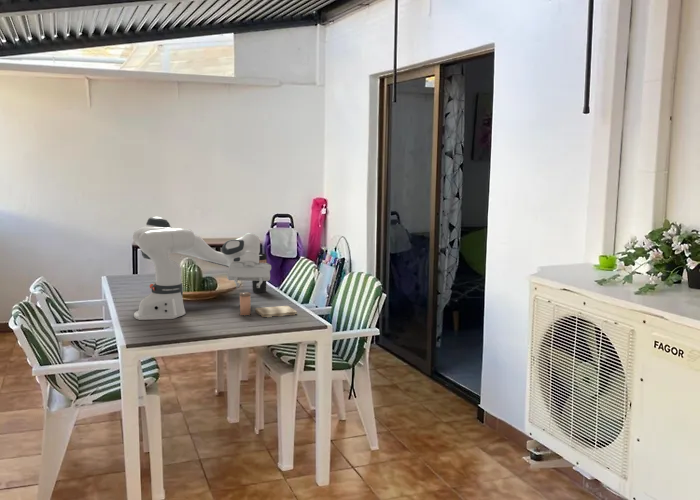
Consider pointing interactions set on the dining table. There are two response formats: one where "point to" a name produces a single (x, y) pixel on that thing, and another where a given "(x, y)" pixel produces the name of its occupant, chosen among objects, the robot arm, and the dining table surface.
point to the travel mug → (254, 283)
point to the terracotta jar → (245, 303)
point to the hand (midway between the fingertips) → (247, 287)
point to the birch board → (275, 311)
